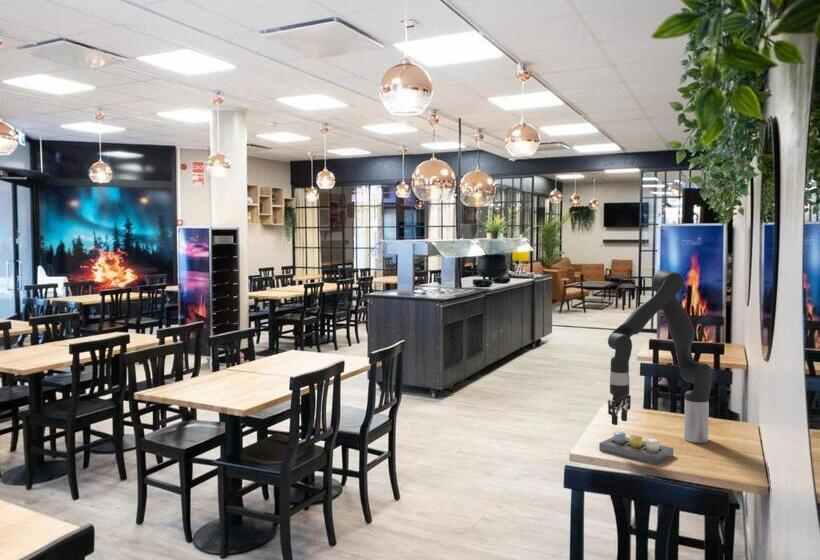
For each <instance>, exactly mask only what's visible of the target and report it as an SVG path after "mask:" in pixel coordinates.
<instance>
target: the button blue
mask: <svg viewBox="0 0 820 560" xmlns="http://www.w3.org/2000/svg"><path fill="white" fill-rule="evenodd" d="M626 435H627V434H626V432H624V431H614V432H613V437H614V443H617V444H621V445H623V444H625V443H626Z"/></svg>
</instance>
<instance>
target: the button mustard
mask: <svg viewBox="0 0 820 560" xmlns="http://www.w3.org/2000/svg"><path fill="white" fill-rule="evenodd" d="M629 438H630V447H633V448H638V449H640V448H642V441H643V437H642V436H641V435H638V434H637V435H636V434H633V435H630V436H629Z"/></svg>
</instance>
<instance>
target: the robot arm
mask: <svg viewBox="0 0 820 560" xmlns="http://www.w3.org/2000/svg"><path fill="white" fill-rule="evenodd" d="M684 285H685V280H684V276H683V275H681V274H680V273H679V272H675V271H670V270H665V269H663V270H662V269H661V270H660V269H659V270H658V271H656V272H655V273H654V275H653V277H652V287H653V289H654V291H655V294H654V295H653V296H652V297H651V298H649V299H648V300H647V301H645V302H643V303H642V304H640V305H639V306H637V308H635V309H634V310H633V311H632V312H631V314H630V315H629V316H628V317H627V318H626V319H625V321H624V322H623V323H622V324H620V325H619V326H618V327H616V329H615V330H613V331H612V332H610V335H609V336H608V338H607V344H608V346H609V347H610V349H613V350H615V351H614V356H612V357H611V359H610V373H609V393H610V395H612V399H608V400H607V408H608V409H607V410H608V412H607V413H608V415H610V416H611V424H612V425H614V426H617V425H618V424H619V423H618V419H619V418H618V417H619V416H618V415H619V412H620V411H621V414H620V415H621V416H620V418H621V419H620V420H621V421H622V422H627V421H628V412H629V410H631V398H632V396H631V395H630V370H629V369H630V359H631V355H632V351H633V342H632V339H631V337H632V336H636V335H638V334H639V333H641V332H642V330H643V329H644V328H645V327H646V325H647V324H648V323H649V321H650V320H652V318H654V316H655V315H656V314H657V313H658V312H659V311H661V309H662V311H663V314H664V317H665V318H664V319H665V321H666V323H667V328H668V332H669V334H670V336H671V340H672V342H673V346H674V350H675V354H676V358H677V363H678V369H679V373H680V376H681V378H682V380H683V381H686V382H687V383H691V384H693V390H687V391H686V392H685V393H684V427H683V428H684V429H683V430H684V435H683V436H684V437H683V439H684V440H685V441H687V442H691V443H693V444H694V443H695V444H704V443H708V442H709V417H710V415H709V413H710V412H709V410H710V407H709V406H710V405H709V399H710V398H709V397H710V396H711V395H710V394H711V391H712V390H711V389H712V379H713V378H712V377H713V375H712V374H713V373H712V367H711V366H710V365H709V364H708V363H704V362H700V361H695V360H694V357H693V354H692V348H691V347H692V345H693V341H694V339H695V334H696V333H695V329H694V326H693V325H694V324H693V323H692V319H691V317H690V315H689V314H688V312H687V311H686V310H685V308H684V306H683V305H682V304H681V302H680V301H679V299H678V297H677V295H678V294H680V292H681V291H682V289H683V287H684Z"/></svg>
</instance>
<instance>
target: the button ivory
mask: <svg viewBox="0 0 820 560" xmlns="http://www.w3.org/2000/svg"><path fill="white" fill-rule="evenodd" d="M646 442H647V450H646V451H650V452H654V453H657V452H659V445H660V440H659V439H655V438H654V439H653V438H647V439H646Z"/></svg>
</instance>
